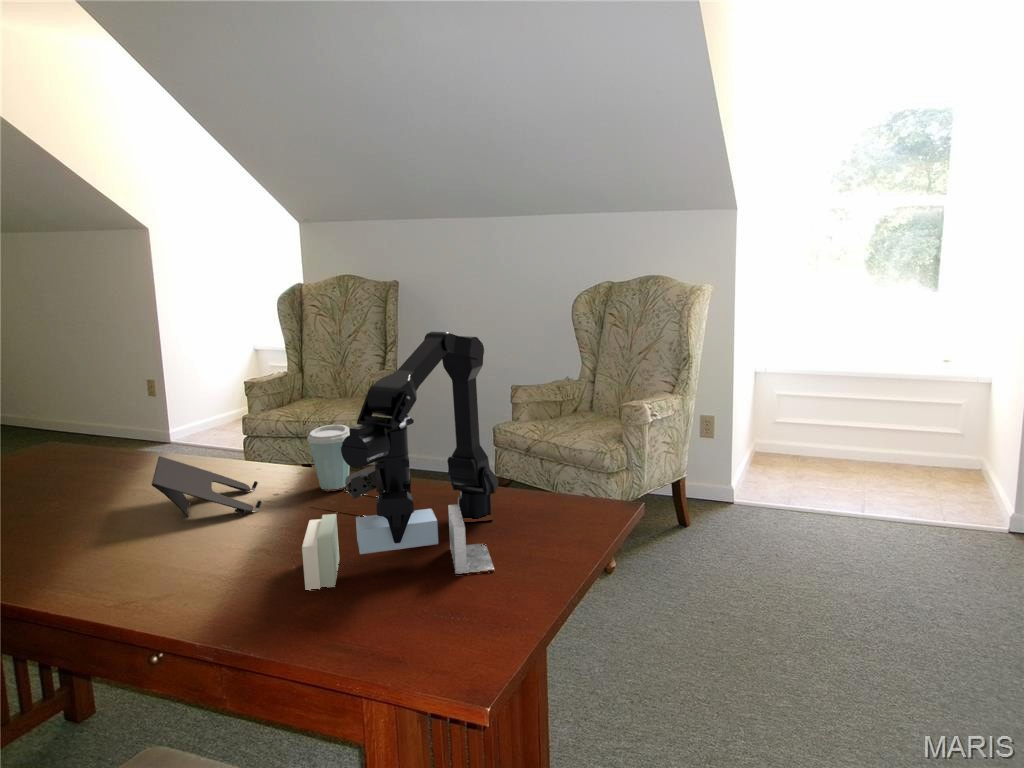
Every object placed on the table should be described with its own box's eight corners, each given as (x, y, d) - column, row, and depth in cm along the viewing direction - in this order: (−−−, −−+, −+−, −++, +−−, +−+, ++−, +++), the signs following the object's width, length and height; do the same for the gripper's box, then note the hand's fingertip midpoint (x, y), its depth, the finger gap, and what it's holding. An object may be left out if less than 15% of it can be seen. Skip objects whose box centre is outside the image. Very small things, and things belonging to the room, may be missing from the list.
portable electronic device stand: (246, 544, 166) (263, 506, 166) (138, 514, 157) (155, 474, 157) (242, 511, 187) (257, 477, 187) (147, 483, 178) (162, 447, 178)
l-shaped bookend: (485, 546, 147) (484, 502, 145) (494, 571, 135) (493, 524, 134) (450, 549, 146) (448, 505, 144) (455, 575, 134) (453, 527, 132)
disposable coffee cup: (345, 496, 178) (340, 435, 176) (303, 494, 181) (298, 433, 178) (362, 482, 189) (358, 424, 186) (322, 480, 191) (318, 423, 188)
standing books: (339, 557, 143) (336, 512, 141) (335, 588, 130) (331, 538, 129) (312, 560, 142) (309, 515, 141) (305, 590, 130) (301, 541, 128)
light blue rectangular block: (432, 530, 142) (431, 508, 142) (438, 543, 136) (437, 520, 135) (357, 540, 139) (355, 517, 138) (360, 554, 133) (358, 530, 132)
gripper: (348, 442, 142) (354, 521, 145) (343, 471, 124) (349, 560, 127) (408, 438, 144) (412, 516, 147) (411, 466, 126) (416, 554, 129)
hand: (397, 535), depth 137 cm, fingers closed on light blue rectangular block, 7 cm apart
